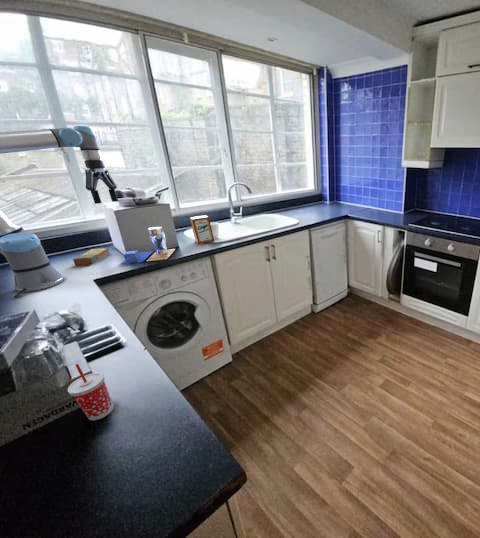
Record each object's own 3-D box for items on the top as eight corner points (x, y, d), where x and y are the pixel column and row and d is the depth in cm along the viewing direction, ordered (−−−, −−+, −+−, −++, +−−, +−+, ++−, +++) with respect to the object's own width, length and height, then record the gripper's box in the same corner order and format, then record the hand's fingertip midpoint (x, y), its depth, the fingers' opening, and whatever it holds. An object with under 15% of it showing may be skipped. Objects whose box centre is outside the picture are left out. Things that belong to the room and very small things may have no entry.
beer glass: (154, 256, 164) (146, 230, 158) (156, 252, 170) (148, 227, 164) (168, 254, 166) (161, 228, 160) (170, 250, 172) (163, 225, 166)
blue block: (137, 262, 156) (134, 253, 154) (126, 263, 155) (123, 254, 153) (140, 258, 160) (137, 250, 158) (130, 260, 159) (127, 251, 157)
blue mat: (143, 262, 157) (142, 261, 157) (121, 265, 154) (120, 264, 154) (154, 251, 173) (154, 250, 173) (134, 253, 170) (134, 252, 170)
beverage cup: (81, 413, 68) (54, 366, 62) (113, 397, 72) (91, 351, 67) (87, 428, 64) (60, 379, 59) (121, 409, 69) (98, 362, 63)
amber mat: (167, 259, 160) (166, 258, 160) (146, 262, 157) (145, 261, 157) (176, 249, 176) (175, 248, 175) (157, 251, 173) (156, 250, 173)
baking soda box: (211, 238, 195) (205, 214, 189) (214, 240, 191) (208, 216, 184) (195, 241, 190) (189, 217, 183) (198, 243, 185) (192, 218, 179)
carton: (110, 254, 170) (107, 247, 168) (93, 264, 156) (90, 257, 154) (93, 255, 169) (91, 248, 167) (75, 266, 154) (71, 258, 152)
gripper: (102, 161, 161) (114, 201, 167) (66, 158, 137) (81, 204, 143) (117, 160, 162) (128, 200, 168) (83, 158, 138) (98, 203, 144)
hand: (107, 202), depth 156 cm, fingers open, 13 cm apart
